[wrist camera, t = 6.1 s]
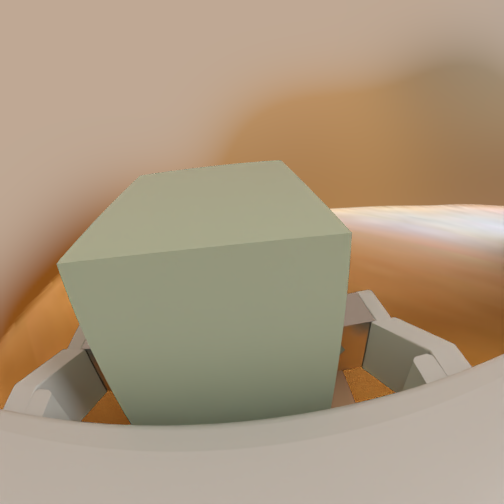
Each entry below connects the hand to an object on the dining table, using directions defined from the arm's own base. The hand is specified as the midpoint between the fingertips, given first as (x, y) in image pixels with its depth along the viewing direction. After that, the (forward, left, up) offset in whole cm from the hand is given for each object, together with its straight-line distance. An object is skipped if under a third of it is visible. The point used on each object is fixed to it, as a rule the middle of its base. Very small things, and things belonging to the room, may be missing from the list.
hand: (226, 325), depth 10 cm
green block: (+1, 0, -6) cm, 6 cm away
